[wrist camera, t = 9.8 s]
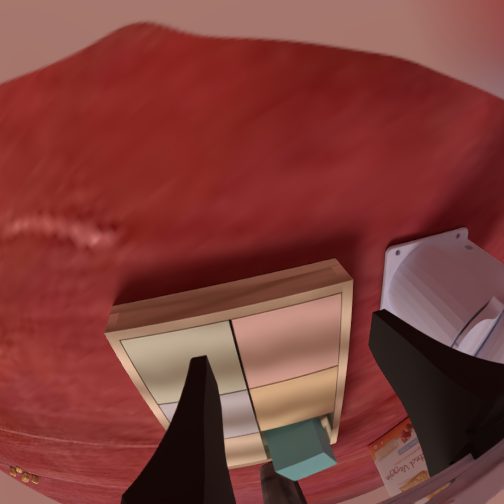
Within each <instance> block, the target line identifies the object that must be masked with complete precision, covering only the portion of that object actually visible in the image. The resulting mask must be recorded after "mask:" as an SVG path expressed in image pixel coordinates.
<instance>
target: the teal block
mask: <svg viewBox="0 0 504 504" xmlns="http://www.w3.org/2000/svg"><path fill="white" fill-rule="evenodd" d="M264 431H265V435H266V439H267V443H268V447H269V450H270V454H271V458H272V462H273V466H274V469H275V472H277V473H279V474H281V475H283V476H285V477H287V478H289V479H291V480H293V481H296V480H299V479H301V478H304V477H307V476H309V475H312V474H314V473H317V472H319V471H321V470H324V469H326V468H329V467H331V466H333V465H335V464H338V463H337V461H336V458H335V456H334V453H333V451H332V448H331V446H330V443H329V441H328V438H327V435H326V433H325V430H324V428H323V425H322V423H321V421H320V420H319V419H318V417H314V418H311V419H307V420H304V421H300V422H297V423H293V424H289V425H285V426H281V427H277V428H273V429H269V430H264Z"/></svg>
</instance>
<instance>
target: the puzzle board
mask: <svg viewBox="0 0 504 504" xmlns="http://www.w3.org/2000/svg"><path fill="white" fill-rule="evenodd" d="M352 295H353V279H352V278H351V276H350V275H349V274H348V273H347V272H346V270H345V269H344V268H343V267H342V266H341V264H340V263H339V262H338V261H337V260H336V258H334V259H330V260H325V261H321V262H317V263H313V264H308V265H304V266H300V267H295V268H291V269H287V270H282V271H278V272H273V273H269V274H264V275H260V276H256V277H251V278H246V279H242V280H237V281H233V282H228V283H223V284H219V285H214V286H209V287H205V288H200V289H195V290H190V291H186V292H181V293H176V294H171V295H166V296H161V297H156V298H151V299H146V300H141V301H136V302H131V303H126V304H121V305H116V306H112V309H111V313H110V316H109V319H108V323H107V326H106V330H105V335H106V337H107V339H108V341H109V342H110V344H111V346H112V348H113V349H114V351H115V353H116V355H117V356H118V358H119V360H120V362H121V363H122V365H123V367H124V368H125V370H126V371H127V373H128V375H129V376H130V378H131V380H132V381H133V383H134V384H135V386H136V387H137V389H138V390H139V392H140V393H141V395H142V397H143V398H144V400H145V401H146V402H147V404H148V405H149V407H150V408H151V410H152V411H153V413H154V414H155V415H156V417H157V418H158V420H159V421H160V422H161V424H162V425H163V427H164V428H165V429H166V431H167V429H168V427H169V425H170V422H171V420H172V418H173V415H174V413H175V410H176V408H177V405H178V402H179V399H180V396H181V393H182V390H183V387H184V384H185V380H186V377H187V373H188V368H189V364H190V360H191V358H193V357H198V356H203V355H207V357H208V360H209V363H210V366H211V368H212V371H213V374H214V376H215V379H216V382H217V384H218V389H219V394H220V400H221V405H222V417H223V431H224V444H225V454H226V461H227V466H228V469H233V468H239V467H244V466H250V465H255V464H260V463H264V462H269V461H272V458H271V454H270V450H269V447H268V443H267V439H266V435H265V431H264V430H269V429H273V428H277V427H281V426H285V425H289V424H293V423H297V422H300V421H304V420H307V419H311V418H314V417H318V419H319V420H320V421H321V423H322V425H323V428H324V430H325V433H326V435H327V438H328V441H329V443H330V445H331V444H334V443H336V441H337V435H338V429H339V423H340V416H341V410H342V403H343V395H344V387H345V379H346V370H347V361H348V351H349V340H350V327H351V313H352Z"/></svg>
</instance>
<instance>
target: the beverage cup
mask: <svg viewBox="0 0 504 504" xmlns="http://www.w3.org/2000/svg"><path fill="white" fill-rule="evenodd" d="M260 475H261V478H260V479H261V486H262V494H263V501H264V504H307V502H306V500H305V497H304V495H303V493H302V490H301V488H300V486H299V483H298V481H297V480H296V481H293V480H291V479H289V478H287V477H285V476H283V475H281V474H279V473H277V472H275V469H274V466H273V462H272V463H269V464H266V465H264V466H262V467H261V468H260Z"/></svg>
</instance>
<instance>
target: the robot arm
mask: <svg viewBox="0 0 504 504" xmlns="http://www.w3.org/2000/svg"><path fill="white" fill-rule="evenodd" d="M467 238H468V229H467V228H465V227H463V228H459V229H456V230H452V231H448V232H444V233H441V234H437V235H433V236H429V237H426V238H422V239H418V240H414V241H410V242H406V243H402V244H398V245H395V246H391V247H389V248H388V249H387V251H386V255H385V267H384V278H383V287H382V296H381V305H380V310H379V311H376V312H373V314H372V322H371V330H370V337H369V344H368V345H369V348H370V350H371V352H372V354H373V356H374V358H375V360H376V362H377V364H378V366H379V367H380V369H381V371H382V372H383V374H384V375H385V377H386V378H387V380H388V382H389V383H390V385H391V386H392V388H393V389H394V391H395V392H396V394H397V396H398V397H399V399H400V400H401V402H402V404H403V406H404V408H405V410H406V412H407V414H408V416H409V419H410V421H411V423H412V426H413V428H414V430H415V433H416V435H417V438H418V441H419V443H420V446H421V449H422V452H423V455H424V459H425V462H426V465H427V469H428V473H429V476H430V478H429V479H427V480H425V481H423V482H422V483H420V484H418V485H416V486H414V487H412V488H410V489H408V490H406V491H404V492H402V493H400V494H398V495H396V496H393V497H391V498H389V499H387V500H385V501H382V502H380V503H378V504H413V503H415V502H417V501H419V500H421V499H423V498H425V497H427V496H428V495H430V494H432V493H434V492H435V491H437V490H439V489H441V488H442V487H444V486H446V485H447V484H449V483H450V482H451V483H450V484H449V486H448V487H446V488H445V489H443V490H442V491H440V492H439V493H437V494H435V495H434V496H433V497H432V498H431V499H430V500H428V501H427V502H426V503H424V504H486V503H487V502H488V501H489V500H491V499H492V498H493V497H494V496H496V495H497V494H498V493H499V492H500V491H501V490H503V489H504V264H502V263H501V262H500V261H498V260H497V259H496V258H494V257H493V256H491V255H490V254H489V253H487V252H486V251H484V250H483V249H482V248H480V247H479V246H477V245H476V244H474V243H473V242H471V241H470V240H468V239H467ZM397 250H398V252H397V253H396V251H397ZM121 504H236V501H235V497H234V493H233V489H232V484H231V480H230V475H229V471H228V466H227V461H226V454H225V444H224V431H223V417H222V405H221V400H220V394H219V389H218V384H217V382H216V379H215V376H214V374H213V371H212V368H211V366H210V363H209V360H208V357H207V355H203V356H198V357H193V358H191V360H190V364H189V368H188V373H187V377H186V380H185V384H184V387H183V390H182V393H181V396H180V399H179V402H178V405H177V408H176V410H175V413H174V415H173V418H172V420H171V422H170V425H169V427H168V429H167V431H166V433H165V435H164V437H163V439H162V441H161V442H160V444H159V446H158V448H157V450H156V451H155V453H154V455H153V456H152V458H151V459H150V461H149V462H148V464H147V465H146V466H145V468H144V469H143V471H142V472H141V473H140V475H139V476H138V477H137V479H136V480H135V481H134V482H133V483H132V485H131V486H130V487H129V488H128V489H127V490H126V491H125V493H124V494H123V495H122V499H121Z"/></svg>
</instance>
